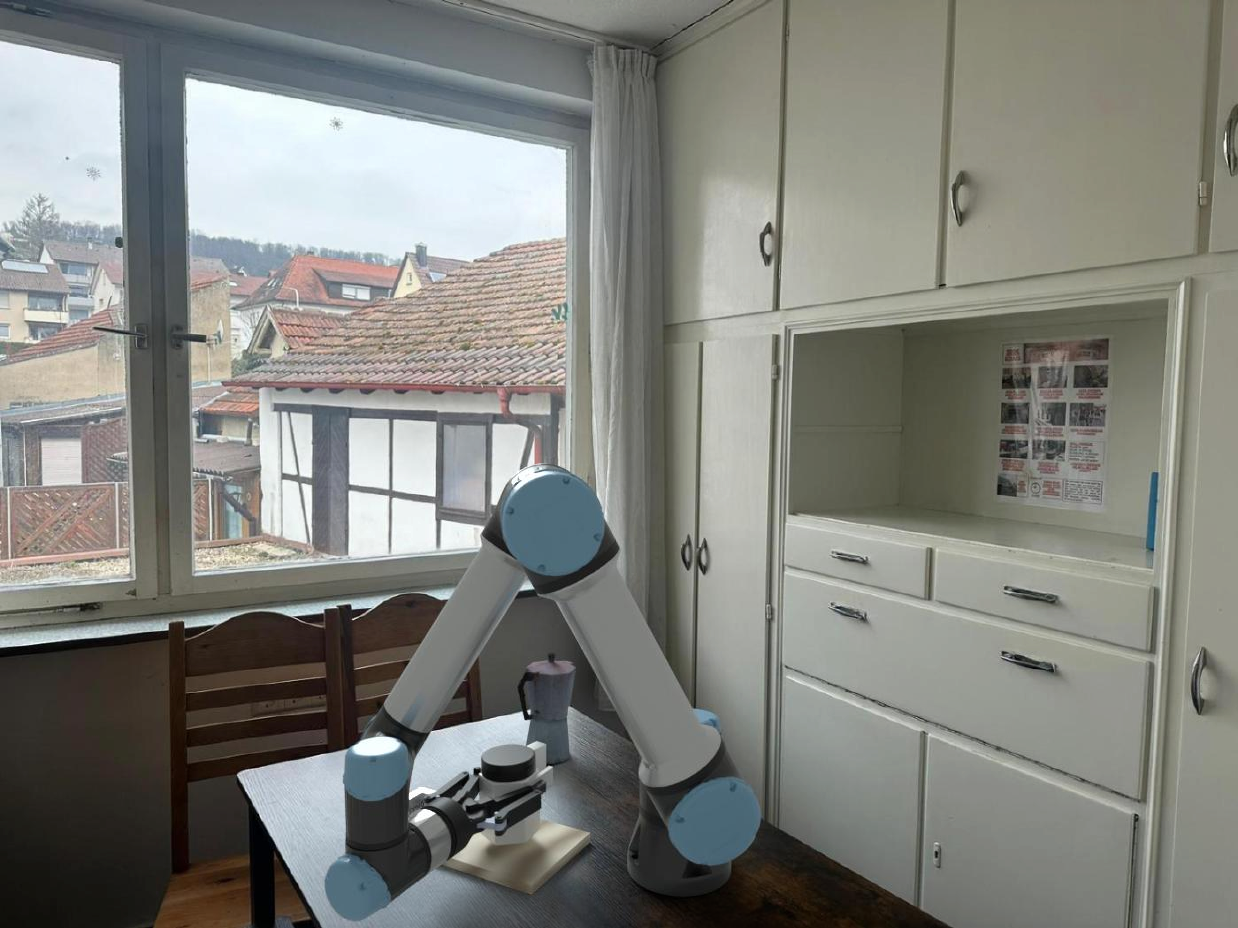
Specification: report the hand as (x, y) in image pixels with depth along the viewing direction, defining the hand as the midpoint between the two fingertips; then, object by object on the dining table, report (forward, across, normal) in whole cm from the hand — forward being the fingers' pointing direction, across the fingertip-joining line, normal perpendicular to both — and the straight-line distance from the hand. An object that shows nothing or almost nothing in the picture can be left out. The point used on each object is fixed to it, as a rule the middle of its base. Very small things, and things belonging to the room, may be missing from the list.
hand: (530, 769), depth 132 cm
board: (-5, 0, -11) cm, 12 cm away
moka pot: (+26, -14, -11) cm, 32 cm away
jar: (-5, 0, -8) cm, 9 cm away
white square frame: (-5, -17, -11) cm, 21 cm away
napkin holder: (+16, -13, -12) cm, 24 cm away
